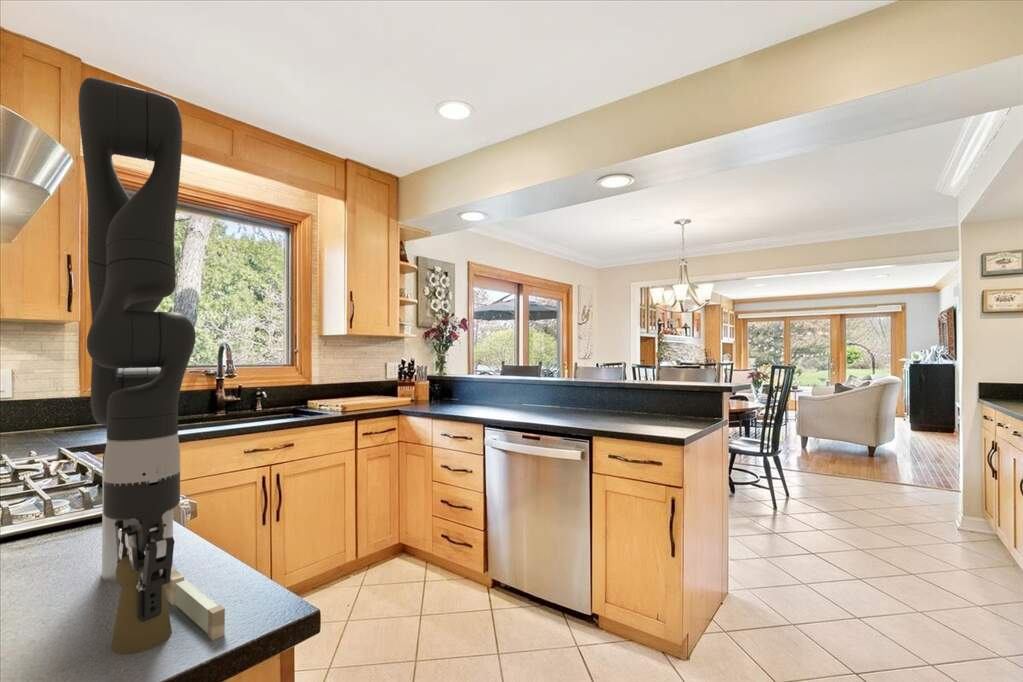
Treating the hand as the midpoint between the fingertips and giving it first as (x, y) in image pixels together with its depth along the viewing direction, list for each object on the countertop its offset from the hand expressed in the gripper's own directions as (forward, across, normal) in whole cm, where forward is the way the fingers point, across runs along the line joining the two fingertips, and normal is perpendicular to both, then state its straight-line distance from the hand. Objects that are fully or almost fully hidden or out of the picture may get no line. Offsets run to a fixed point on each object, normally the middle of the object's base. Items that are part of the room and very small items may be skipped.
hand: (142, 610), depth 59 cm
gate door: (+4, -6, +6) cm, 10 cm away
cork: (+4, 0, 0) cm, 4 cm away
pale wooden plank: (+4, -6, +6) cm, 10 cm away
